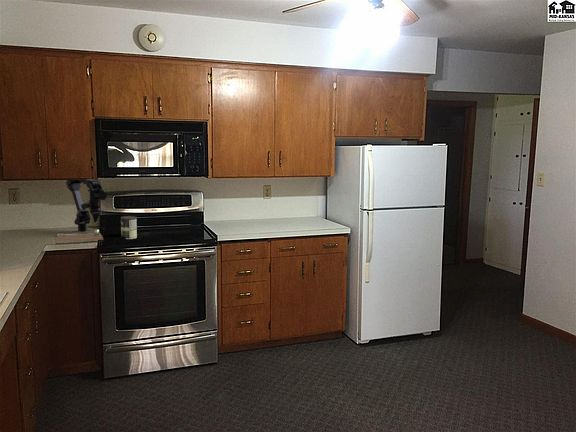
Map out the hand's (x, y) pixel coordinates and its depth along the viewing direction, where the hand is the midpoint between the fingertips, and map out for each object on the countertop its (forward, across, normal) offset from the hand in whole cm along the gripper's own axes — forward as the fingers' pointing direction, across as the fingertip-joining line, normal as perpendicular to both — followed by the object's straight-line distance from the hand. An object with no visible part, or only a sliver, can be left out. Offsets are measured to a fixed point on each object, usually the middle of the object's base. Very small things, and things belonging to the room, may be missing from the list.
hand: (94, 221), depth 339 cm
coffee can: (+10, +14, +21) cm, 27 cm away
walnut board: (+10, +13, -10) cm, 19 cm away
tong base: (+8, +6, -13) cm, 17 cm away
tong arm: (+8, +7, -8) cm, 13 cm away
